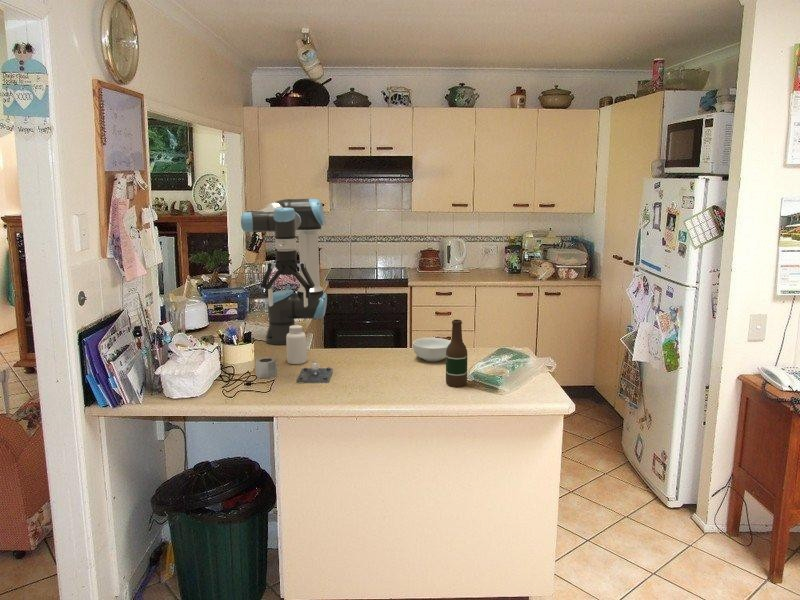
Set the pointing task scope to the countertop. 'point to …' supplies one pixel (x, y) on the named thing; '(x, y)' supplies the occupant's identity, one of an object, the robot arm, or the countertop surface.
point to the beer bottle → (456, 358)
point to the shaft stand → (314, 374)
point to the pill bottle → (296, 345)
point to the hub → (266, 367)
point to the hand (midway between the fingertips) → (288, 306)
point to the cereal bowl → (431, 348)
